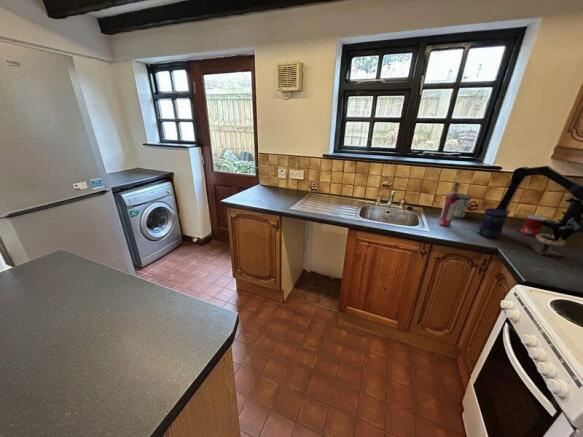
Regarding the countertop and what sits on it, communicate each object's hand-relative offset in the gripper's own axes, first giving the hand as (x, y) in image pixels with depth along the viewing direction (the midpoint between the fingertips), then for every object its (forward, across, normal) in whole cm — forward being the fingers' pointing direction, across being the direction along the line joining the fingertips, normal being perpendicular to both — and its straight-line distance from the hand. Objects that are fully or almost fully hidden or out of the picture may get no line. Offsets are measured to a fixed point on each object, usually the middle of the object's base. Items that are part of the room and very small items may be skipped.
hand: (558, 240), depth 124 cm
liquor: (+7, -43, +25) cm, 50 cm away
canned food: (+7, +4, +22) cm, 23 cm away
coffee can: (+7, -27, +45) cm, 53 cm away
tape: (0, -4, 0) cm, 4 cm away
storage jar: (+7, -23, +14) cm, 28 cm away
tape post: (+7, -4, 0) cm, 8 cm away
